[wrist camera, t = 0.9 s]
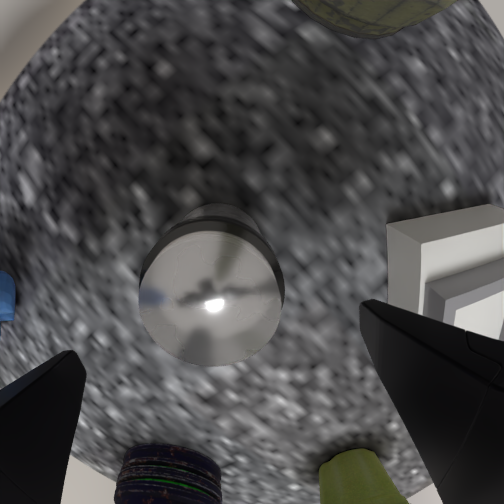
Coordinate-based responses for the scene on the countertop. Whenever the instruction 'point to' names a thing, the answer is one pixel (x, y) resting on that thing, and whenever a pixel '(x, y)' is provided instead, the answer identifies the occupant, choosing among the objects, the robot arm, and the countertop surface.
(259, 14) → the countertop surface
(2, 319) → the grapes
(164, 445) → the storage jar
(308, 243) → the countertop surface
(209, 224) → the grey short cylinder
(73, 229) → the countertop surface
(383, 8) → the thermos
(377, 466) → the plant pot
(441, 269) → the grey open box
